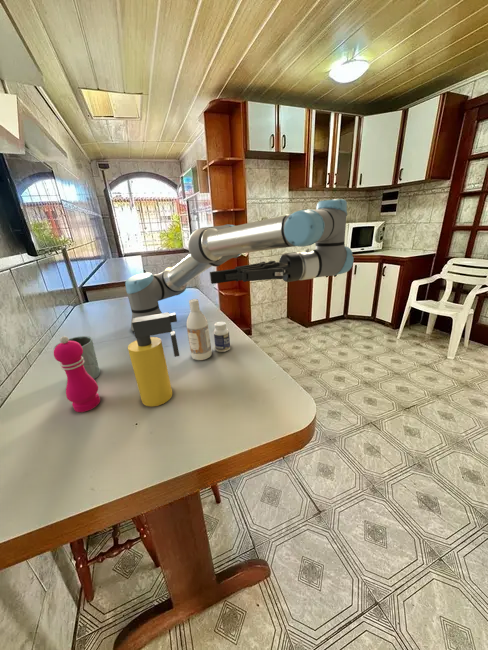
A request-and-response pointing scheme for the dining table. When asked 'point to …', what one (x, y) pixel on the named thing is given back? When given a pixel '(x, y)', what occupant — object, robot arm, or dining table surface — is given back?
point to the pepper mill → (76, 376)
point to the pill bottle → (221, 337)
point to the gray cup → (88, 355)
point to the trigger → (174, 343)
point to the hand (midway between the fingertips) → (210, 277)
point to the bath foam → (198, 332)
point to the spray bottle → (151, 358)
